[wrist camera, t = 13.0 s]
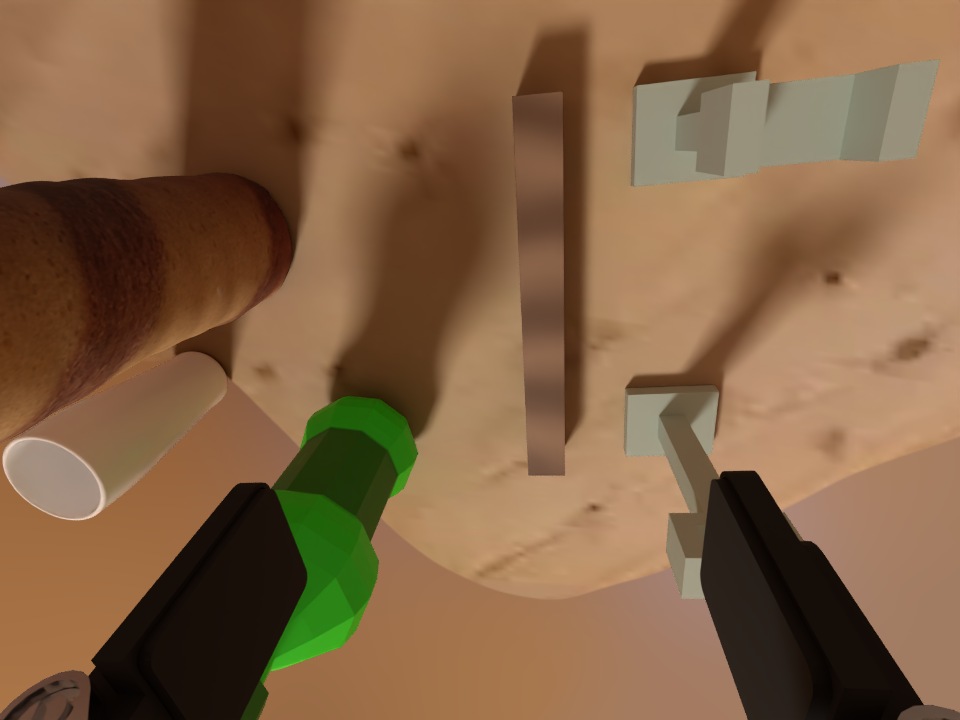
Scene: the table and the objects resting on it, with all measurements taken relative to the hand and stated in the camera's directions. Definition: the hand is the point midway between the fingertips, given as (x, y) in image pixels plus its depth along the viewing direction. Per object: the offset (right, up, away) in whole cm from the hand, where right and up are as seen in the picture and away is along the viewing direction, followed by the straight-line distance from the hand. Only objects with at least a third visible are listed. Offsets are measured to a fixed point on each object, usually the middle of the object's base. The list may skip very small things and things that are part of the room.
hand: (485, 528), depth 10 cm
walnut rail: (+5, +8, +27) cm, 29 cm away
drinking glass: (-25, +2, +33) cm, 42 cm away
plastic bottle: (-10, -2, +34) cm, 35 cm away
